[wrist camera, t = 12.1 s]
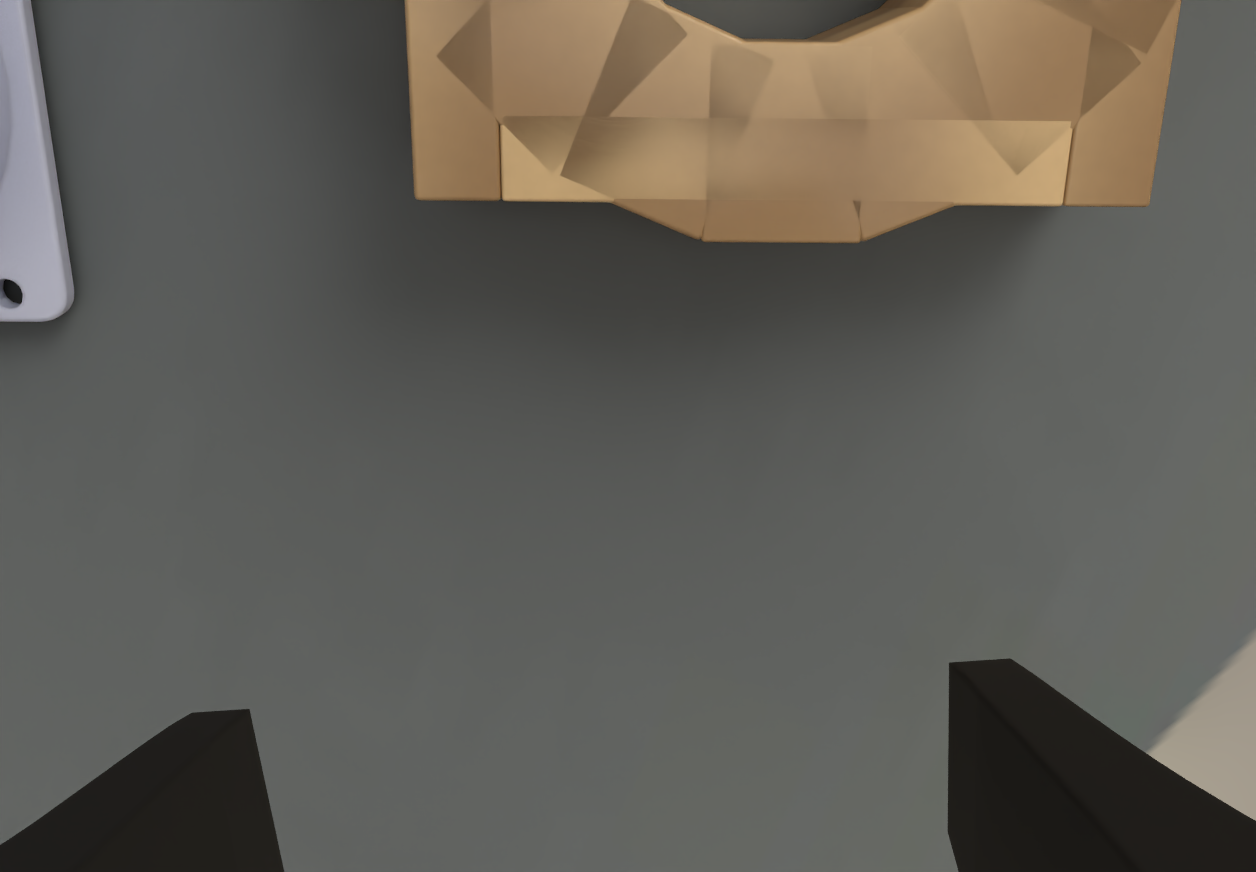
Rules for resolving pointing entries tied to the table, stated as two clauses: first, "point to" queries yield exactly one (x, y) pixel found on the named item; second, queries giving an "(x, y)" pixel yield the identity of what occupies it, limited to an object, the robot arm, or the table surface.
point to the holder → (789, 111)
